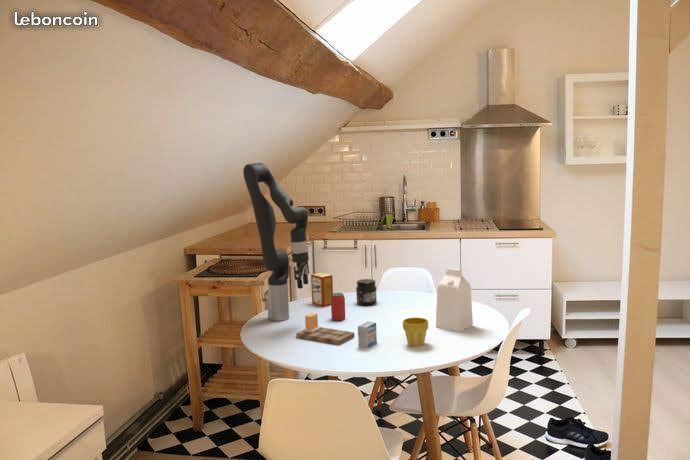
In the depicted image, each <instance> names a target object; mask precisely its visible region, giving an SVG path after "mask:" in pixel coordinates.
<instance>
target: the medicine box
mask: <svg viewBox="0 0 690 460" xmlns="http://www.w3.org/2000/svg"><path fill="white" fill-rule="evenodd" d="M377 334H378V333H377V322H373V321H366V322H364V323H362V324H360V325H358V326H357V340H358V341H357V342H358V343H357V345H358V347H359V348H365V349H368V348H370V347H372V346H374V345H375V344H376V343H377V341H378V340H377V339H378V338H377V337H378V336H377Z"/></svg>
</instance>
